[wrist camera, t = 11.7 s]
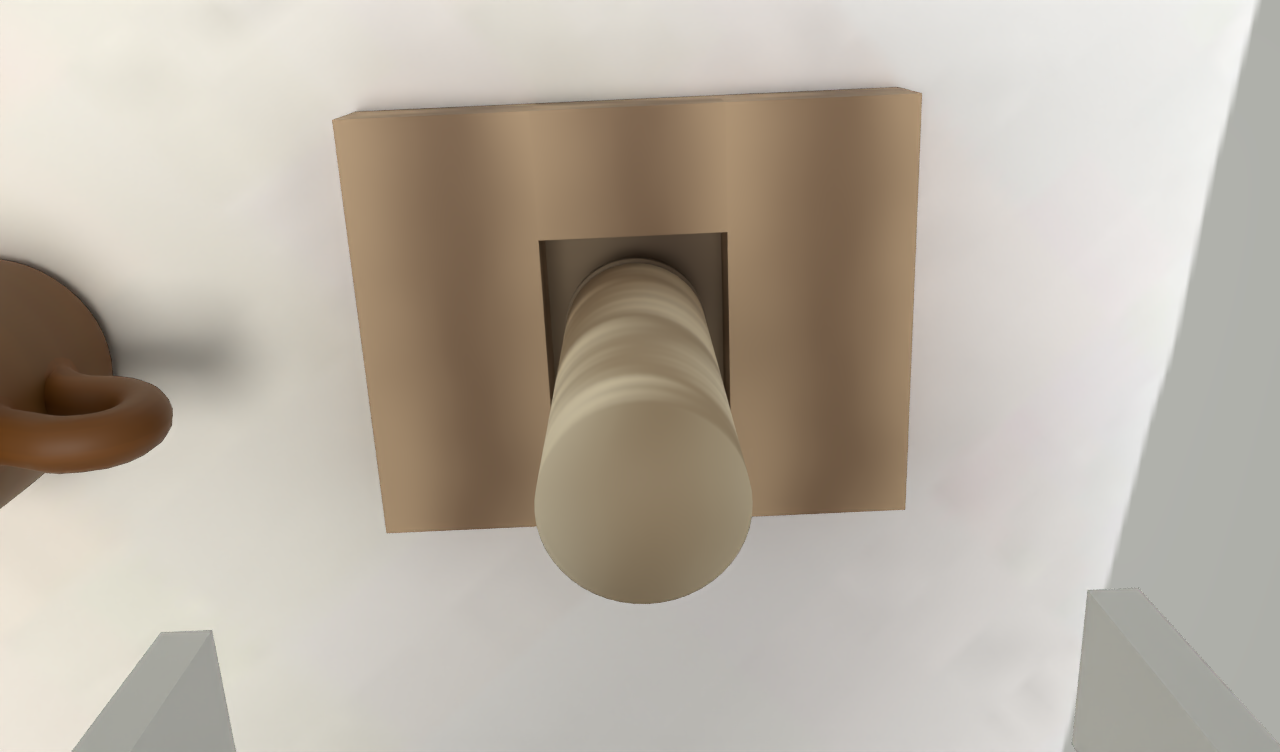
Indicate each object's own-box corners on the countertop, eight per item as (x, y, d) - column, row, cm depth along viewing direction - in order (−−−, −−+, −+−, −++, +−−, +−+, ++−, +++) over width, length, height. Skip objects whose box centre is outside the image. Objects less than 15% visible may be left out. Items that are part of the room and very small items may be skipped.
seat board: (403, 496, 40) (386, 533, 37) (355, 111, 35) (332, 119, 33) (885, 474, 40) (905, 509, 37) (897, 87, 35) (921, 93, 33)
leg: (573, 373, 38) (540, 610, 23) (564, 245, 36) (523, 408, 21) (702, 367, 38) (755, 600, 23) (699, 239, 36) (753, 398, 21)
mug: (230, 248, 37) (105, 322, 28) (258, 452, 39) (151, 580, 30) (-121, 253, 37) (-359, 329, 28) (-71, 457, 39) (-276, 588, 30)
